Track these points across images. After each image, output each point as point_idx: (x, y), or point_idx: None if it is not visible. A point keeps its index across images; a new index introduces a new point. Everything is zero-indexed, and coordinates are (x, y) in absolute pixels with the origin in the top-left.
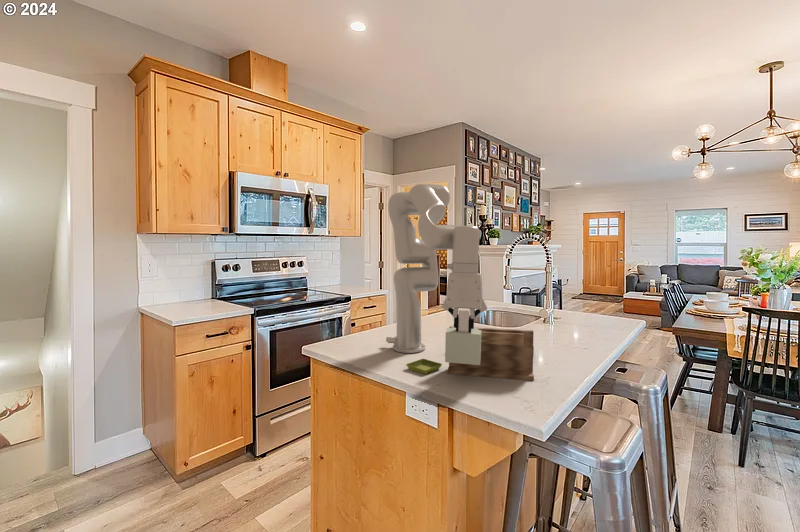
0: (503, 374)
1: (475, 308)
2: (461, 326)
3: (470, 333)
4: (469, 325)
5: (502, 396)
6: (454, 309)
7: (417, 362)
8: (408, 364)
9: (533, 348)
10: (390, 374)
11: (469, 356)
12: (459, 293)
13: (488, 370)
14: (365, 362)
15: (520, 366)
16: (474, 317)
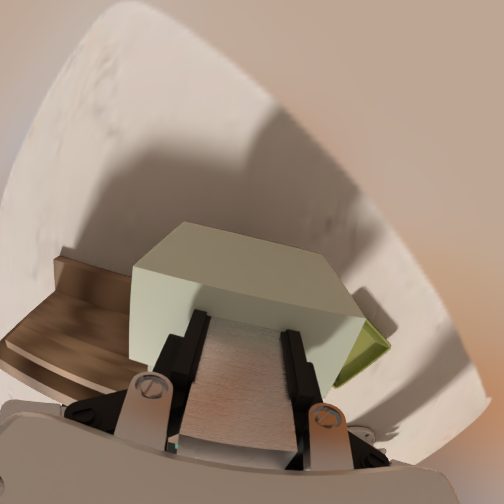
0: (119, 279)
1: (75, 422)
2: (260, 351)
3: (199, 292)
4: (196, 337)
5: (147, 133)
6: (345, 466)
7: (355, 369)
8: (384, 350)
9: (62, 404)
10: (428, 302)
11: (222, 239)
12: None
13: None
14: (448, 366)
15: (73, 305)
16: (135, 377)
